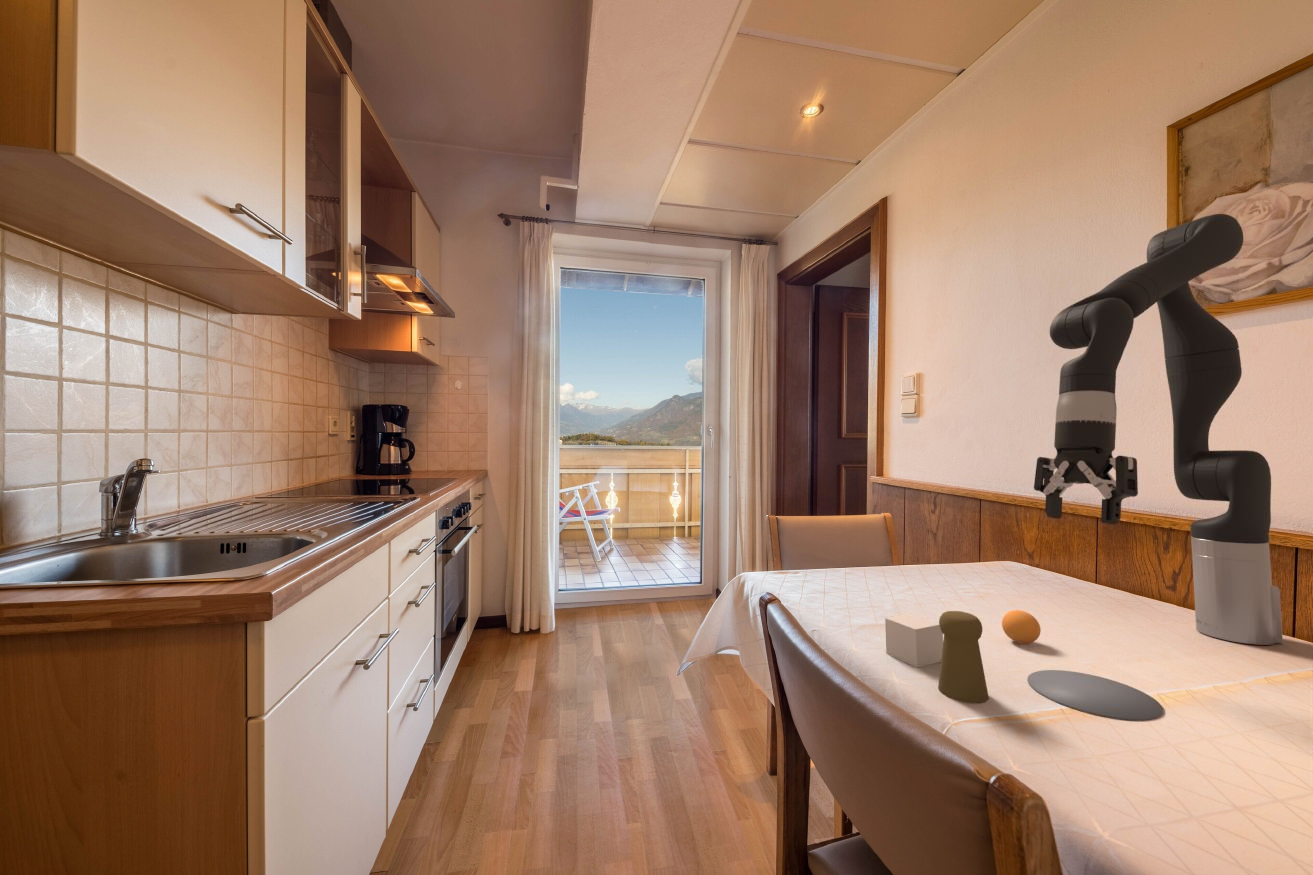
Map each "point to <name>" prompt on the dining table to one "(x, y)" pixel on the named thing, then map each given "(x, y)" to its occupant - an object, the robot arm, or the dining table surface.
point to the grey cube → (914, 639)
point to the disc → (1095, 695)
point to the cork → (962, 658)
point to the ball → (1021, 626)
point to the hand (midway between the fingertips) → (1079, 520)
